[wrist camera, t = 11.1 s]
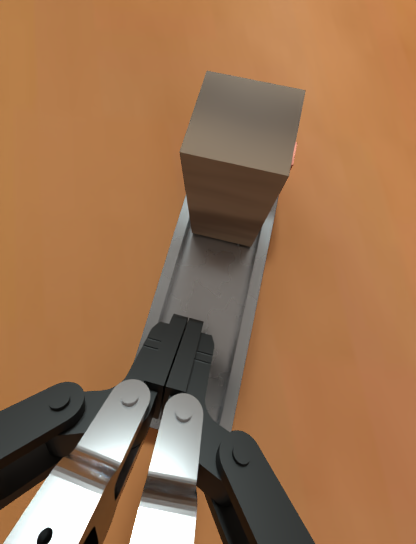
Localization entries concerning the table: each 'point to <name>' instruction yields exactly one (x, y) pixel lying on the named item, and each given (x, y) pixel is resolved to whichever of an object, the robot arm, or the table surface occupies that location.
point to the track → (213, 302)
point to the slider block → (238, 154)
